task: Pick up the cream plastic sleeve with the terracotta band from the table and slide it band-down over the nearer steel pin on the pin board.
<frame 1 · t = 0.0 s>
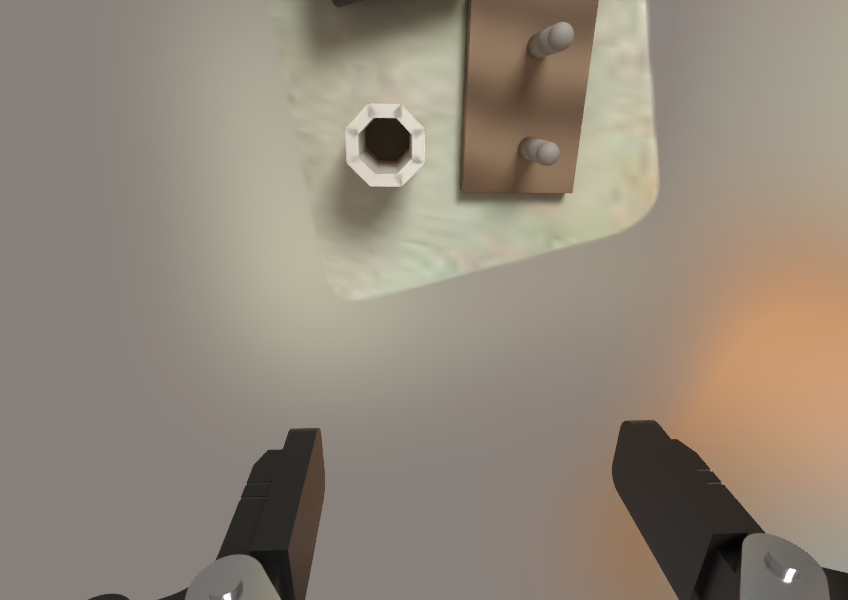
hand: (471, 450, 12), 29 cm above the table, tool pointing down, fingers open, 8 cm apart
sleeve: (387, 138, 37), on the table
pin board: (521, 99, 36), on the table
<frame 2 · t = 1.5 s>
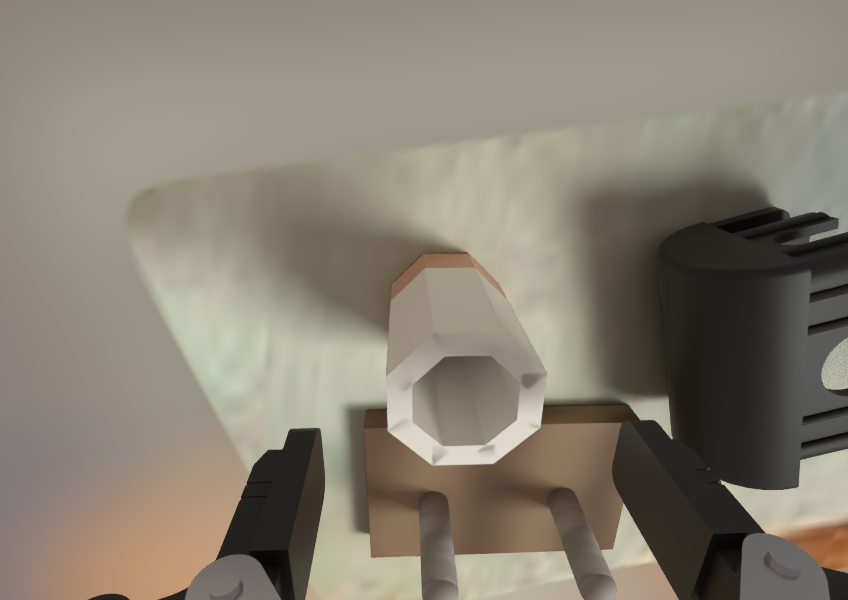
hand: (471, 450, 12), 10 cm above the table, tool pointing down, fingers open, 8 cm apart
end cap: (702, 309, 23), on the table
sleeve: (444, 304, 22), on the table
pin board: (493, 473, 26), on the table
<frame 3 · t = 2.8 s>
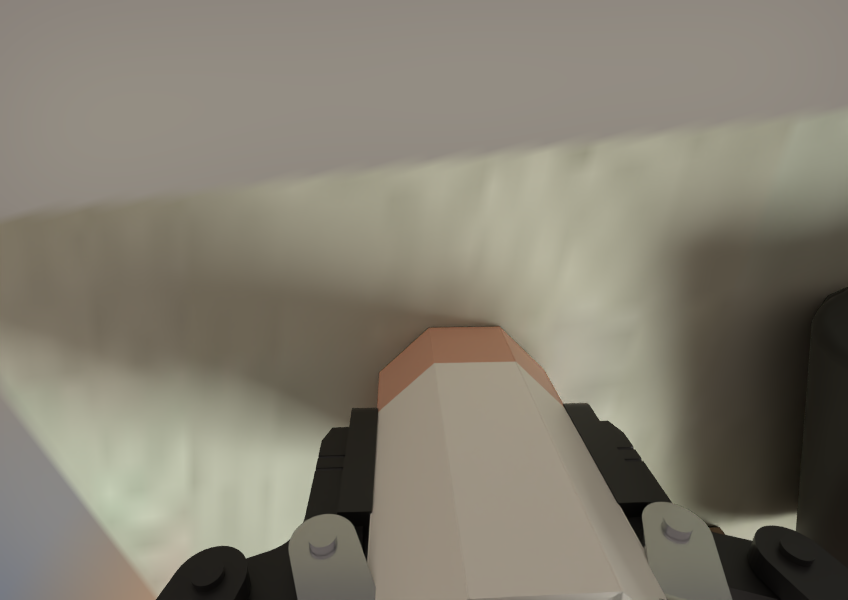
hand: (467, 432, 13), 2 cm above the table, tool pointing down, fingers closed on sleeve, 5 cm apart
end cap: (839, 399, 16), on the table
sleeve: (460, 399, 14), on the table, touching gripper
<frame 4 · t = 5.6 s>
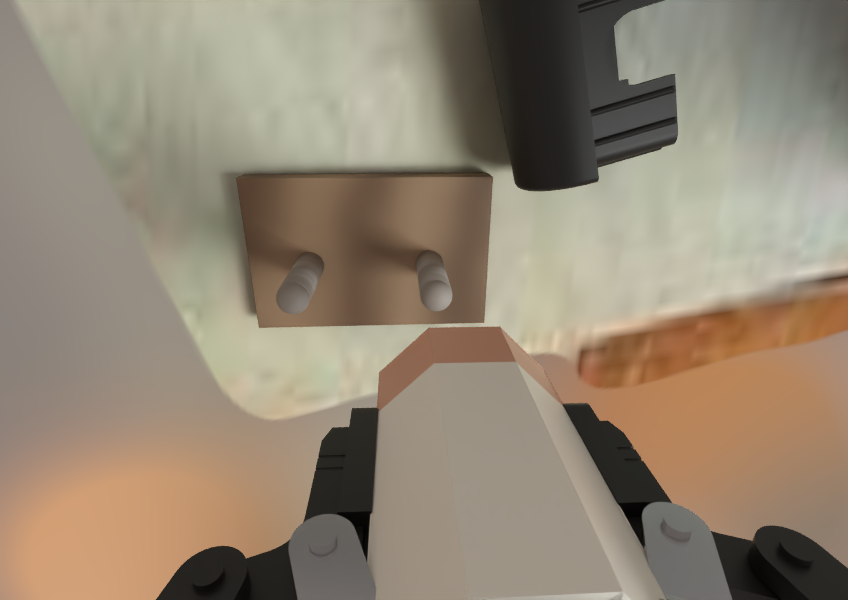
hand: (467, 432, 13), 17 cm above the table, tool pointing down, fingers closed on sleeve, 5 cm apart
end cap: (545, 71, 25), on the table
sleeve: (460, 399, 14), point 16 cm above the table, touching gripper
pin board: (371, 248, 28), on the table
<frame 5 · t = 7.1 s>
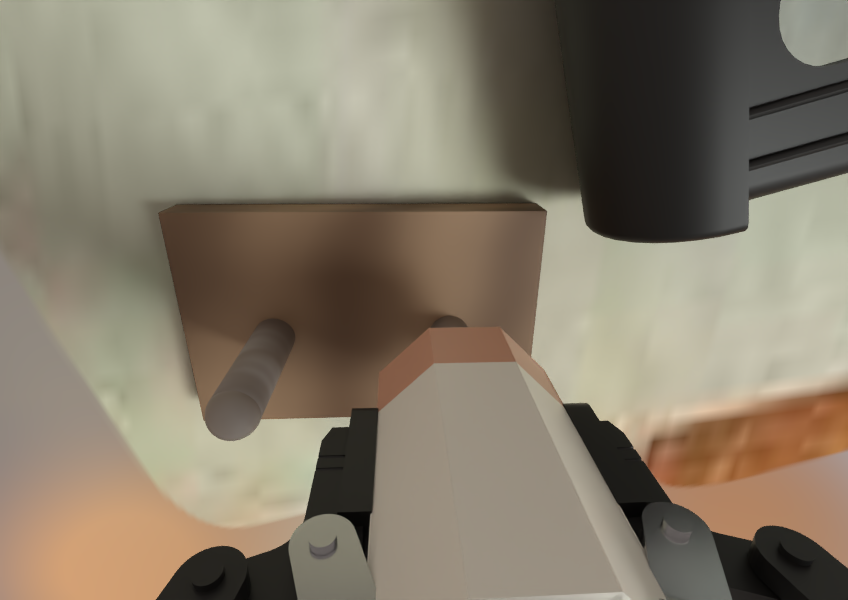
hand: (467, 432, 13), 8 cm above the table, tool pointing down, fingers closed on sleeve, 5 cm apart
end cap: (629, 52, 17), on the table
sleeve: (460, 399, 14), point 6 cm above the table, touching gripper
pin board: (364, 308, 20), on the table
when the fingers open (4 cm above the table, at t = 8.3 s): sleeve stays where it is, resting on pin board.
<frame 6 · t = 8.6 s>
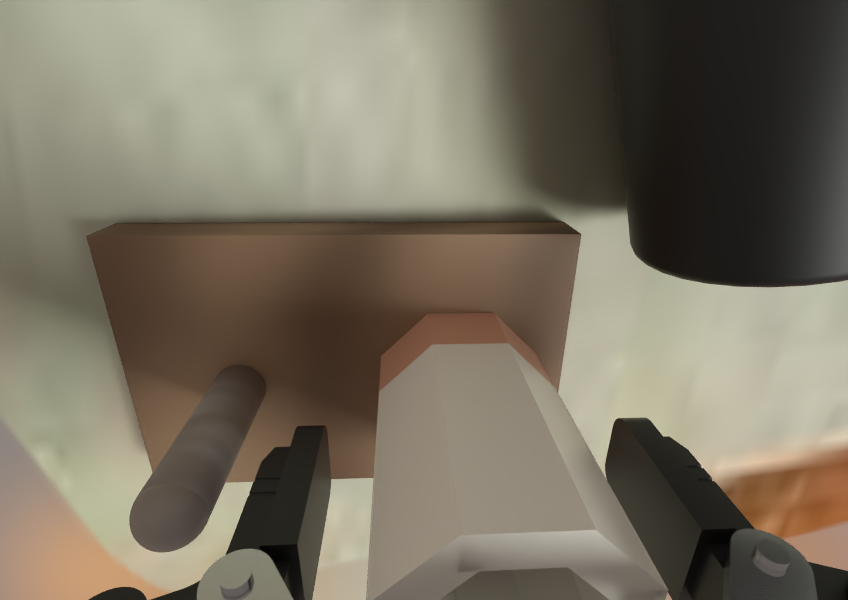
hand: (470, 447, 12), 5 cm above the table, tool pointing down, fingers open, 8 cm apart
end cap: (685, 34, 13), on the table
sleeve: (457, 381, 15), point 1 cm above the table, touching pin board
pin board: (353, 348, 16), on the table
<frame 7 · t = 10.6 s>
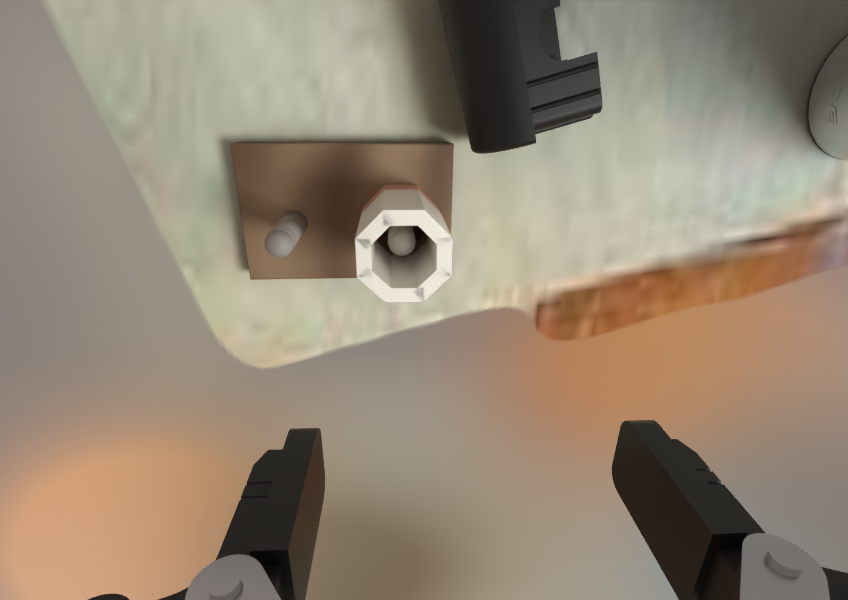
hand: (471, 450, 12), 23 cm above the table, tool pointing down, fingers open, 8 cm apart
end cap: (499, 53, 29), on the table
sleeve: (400, 221, 31), point 1 cm above the table, touching pin board
pin board: (349, 210, 32), on the table
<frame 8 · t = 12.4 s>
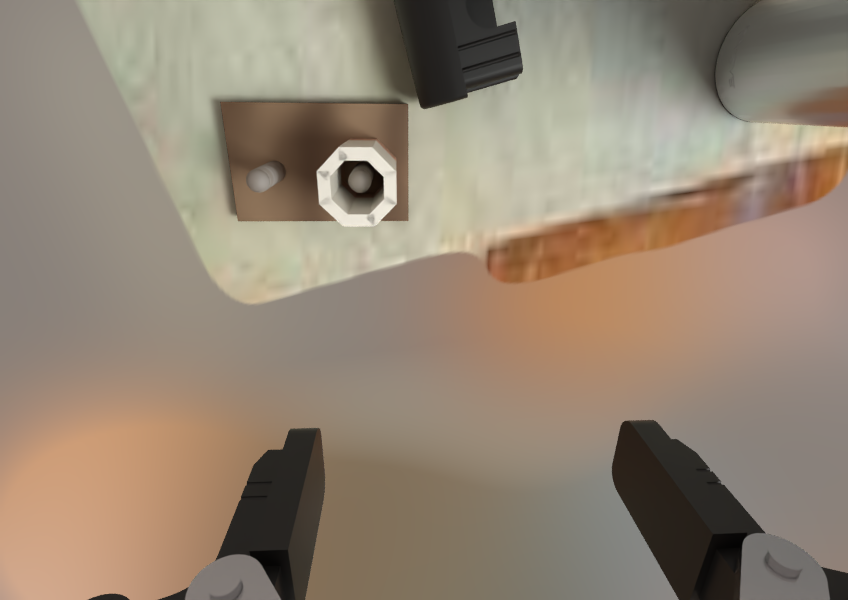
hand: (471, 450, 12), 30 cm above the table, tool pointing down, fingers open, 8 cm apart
end cap: (446, 27, 35), on the table
sleeve: (365, 171, 37), point 1 cm above the table, touching pin board
pin board: (322, 162, 38), on the table
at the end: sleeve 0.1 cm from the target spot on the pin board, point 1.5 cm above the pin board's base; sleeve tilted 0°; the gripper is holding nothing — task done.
